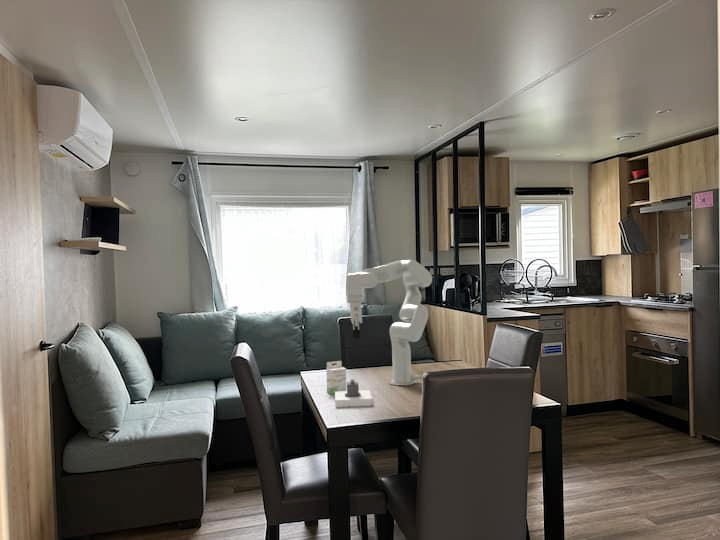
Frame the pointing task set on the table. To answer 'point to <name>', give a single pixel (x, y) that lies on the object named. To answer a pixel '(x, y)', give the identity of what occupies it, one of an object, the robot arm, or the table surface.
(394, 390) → the table surface
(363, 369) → the table surface
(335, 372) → the ink box
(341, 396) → the socket
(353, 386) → the plug
